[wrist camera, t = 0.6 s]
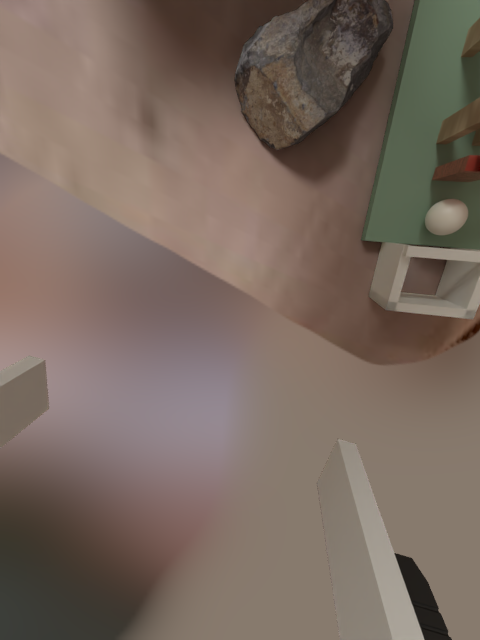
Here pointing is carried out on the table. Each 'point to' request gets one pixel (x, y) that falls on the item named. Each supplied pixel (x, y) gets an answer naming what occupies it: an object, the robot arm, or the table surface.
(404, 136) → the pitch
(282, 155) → the table surface
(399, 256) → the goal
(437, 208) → the ball
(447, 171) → the rod
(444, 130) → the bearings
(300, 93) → the rock
